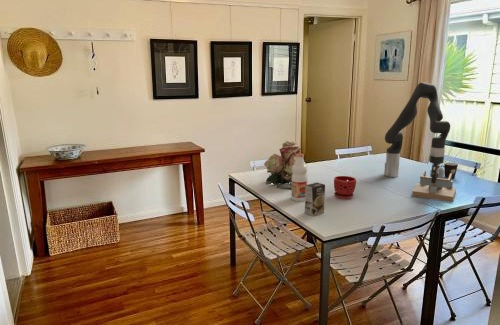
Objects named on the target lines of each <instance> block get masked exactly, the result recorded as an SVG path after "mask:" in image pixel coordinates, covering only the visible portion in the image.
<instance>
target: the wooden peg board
mask: <svg viewBox="0 0 500 325" xmlns="http://www.w3.org/2000/svg"><path fill="white" fill-rule="evenodd" d="M431 171H432V168H431V169H430V172H429V173H430V174H429V177H432V176H431ZM433 175H434V174H433ZM438 178H441V179H445V174H444V167H443V166H442V167H440V168H439V173H438ZM453 184H454V180H451V181H450V182H449V187H448V188H443V187H436V186H428V185H421V184H420V181H419V182H417V184H416V185H415V187H414V188H413V189H412V192H411V193H412V196H413V197H418V198H419V197H420V198H424V199H425V198H426V199H432V200H438V201H444V202H453V201H454V198H455V195H456V192H457V187H455V186H453Z"/></svg>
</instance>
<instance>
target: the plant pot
mask: <svg viewBox="0 0 500 325" xmlns="http://www.w3.org/2000/svg"><path fill="white" fill-rule="evenodd" d="M356 185H357V179H356V178H355V177H353V176H347V175H339V176H338V175H337V176H334V178H333V187H334V191H335V192H334V193H333V194H334V196H335V197H336V198H338V199H342V200H350V199H352V198H354V195H355V194H354V193H355V189H356Z"/></svg>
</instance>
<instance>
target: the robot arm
mask: <svg viewBox="0 0 500 325" xmlns="http://www.w3.org/2000/svg"><path fill="white" fill-rule="evenodd" d="M420 98H421V99H428V100H429V105H428V106H427V111H426V112H427V116H428V118H429V130H430V132H431V133H433V134H439V135H438V136H435V137H433V138H432V139H431V146H430V149H429V150H430V152H429V163H431V164H432V166H431V169H432V171H431V170H430V171H431V176H432V180H431V183H435V182H436V178H438V173H439V168H440V166H441V165H442V164H444V163H445V162H444V160H445V152H446V151H445V149H446V148H445V147H446V140H447V137H448V135H449V133H450V130H451V124H450V122H449V121H447V120H444V119H443V118H444V114H443V113H442V110H441V108H440V103H439V96H438V91H437V87H436V84H435V85H434V84H433V83H428V82H423V81H422V82H419V83H418V84H417V85H416V87H415V88H414V91H413V92H412V93H411V96H410V98H409V100H408V101H407V103H406V105H405V106H404V108H403V109H402V111H401V112H400V114H399V115H398V117H397V118H396V120H395V121H394V123H393V124H392V125H391V126H390V128H388V130H387V132H386V133H385V135H384V140H385V143H386V144H389V145H390V146H389V147H387V149H386V154H385V155H386V158H385V163H384V173H383V175H384V176H386V177H390V178H396V177H397V178H398V177H399V174H400V172H399V171H400V170H399V169H400V160H401V150H402V148H403V139H404V135H403V132H402V130H403V129H405V128H406V127H408V126H409V125H410V124H411V123H412V122H413V121H414V119H415V118H416V117H417V115H418V106H417V105H418V101H419V100H420ZM433 174H434V175H433Z"/></svg>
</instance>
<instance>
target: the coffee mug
mask: <svg viewBox="0 0 500 325" xmlns="http://www.w3.org/2000/svg"><path fill="white" fill-rule="evenodd" d="M443 164H444V165H439V166H440V167H442V168H443V170H444V179H448V178H449V175H450V173H452V177H451V180H452V179H455V177H456V174H457V170H458V166H459V163H456V162H450V161H449V162H448V161H447V162H443Z"/></svg>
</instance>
